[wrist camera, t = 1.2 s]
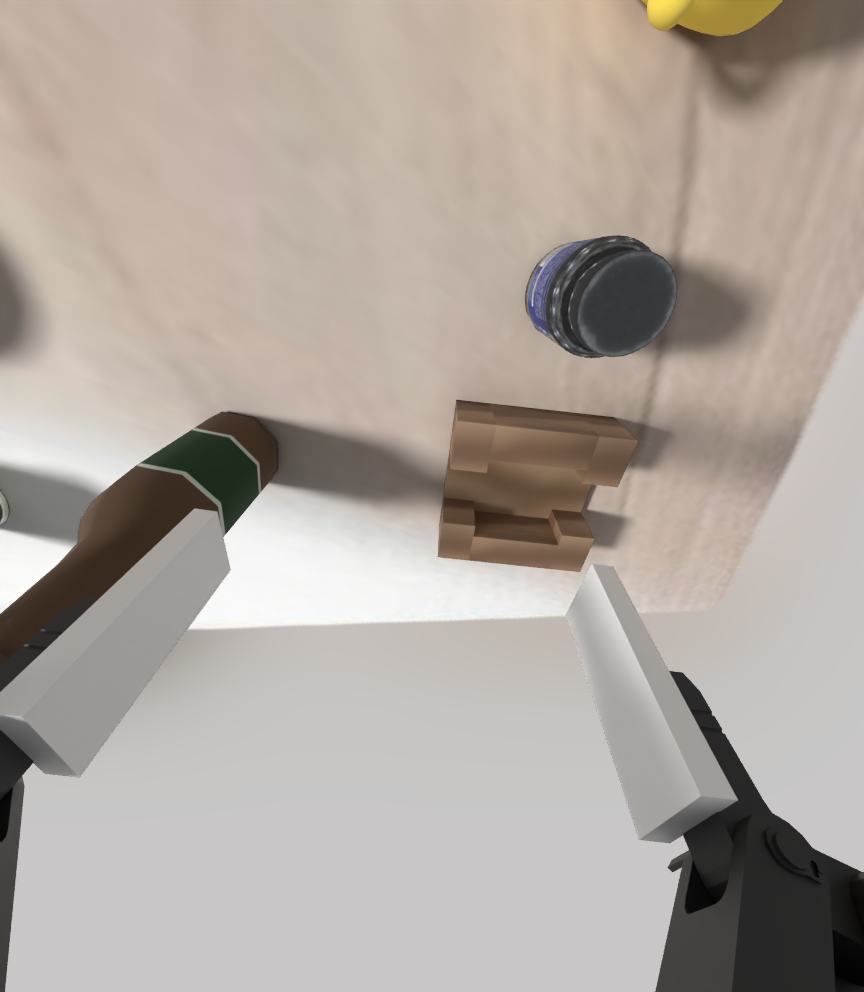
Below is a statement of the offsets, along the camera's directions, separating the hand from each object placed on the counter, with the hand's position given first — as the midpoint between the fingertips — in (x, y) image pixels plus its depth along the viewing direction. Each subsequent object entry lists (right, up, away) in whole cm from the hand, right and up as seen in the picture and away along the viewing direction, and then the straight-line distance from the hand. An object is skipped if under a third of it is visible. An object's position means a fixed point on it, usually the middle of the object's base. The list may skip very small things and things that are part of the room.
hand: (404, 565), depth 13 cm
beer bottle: (-17, +7, +22) cm, 29 cm away
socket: (+9, +4, +23) cm, 25 cm away
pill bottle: (+11, +18, +14) cm, 25 cm away
